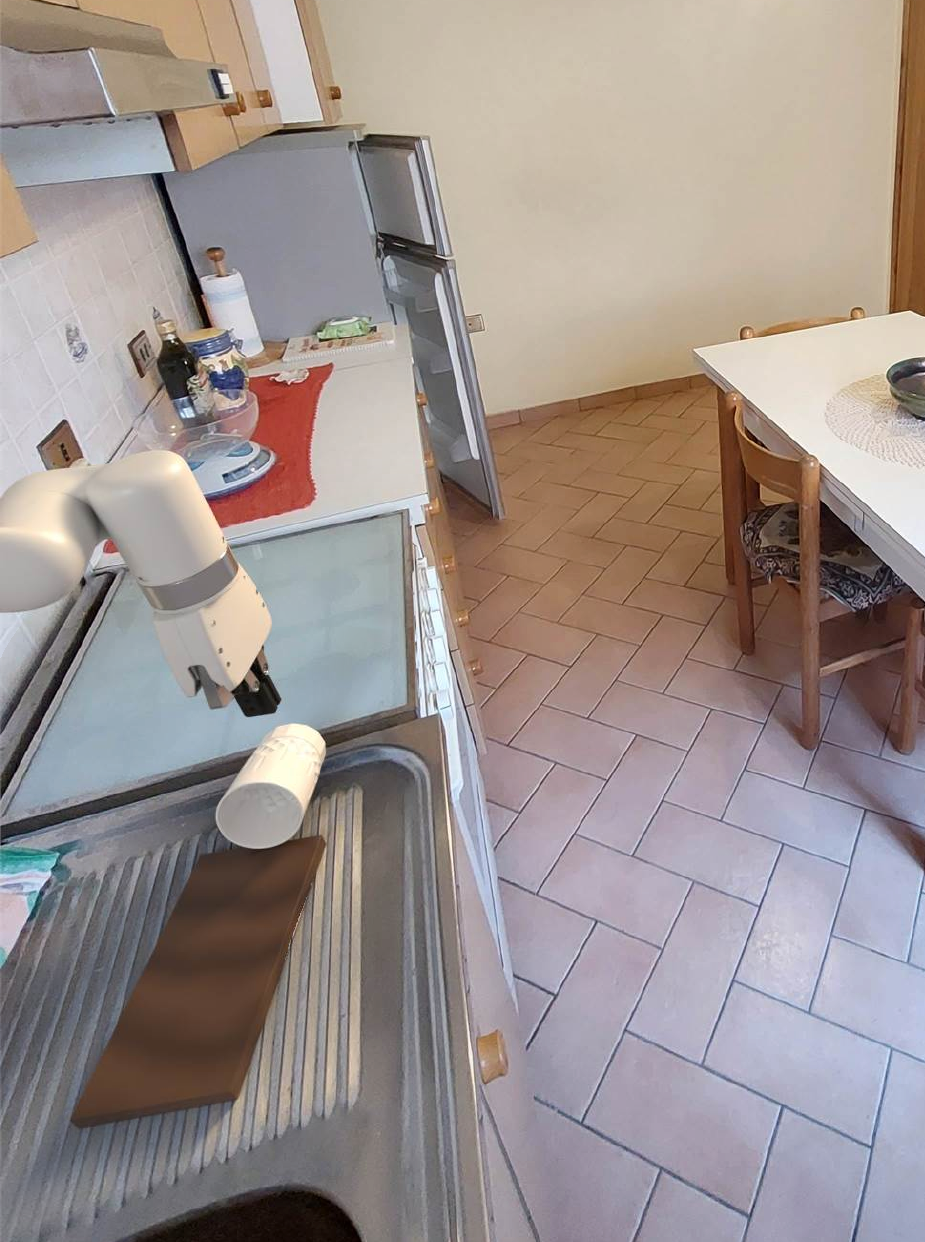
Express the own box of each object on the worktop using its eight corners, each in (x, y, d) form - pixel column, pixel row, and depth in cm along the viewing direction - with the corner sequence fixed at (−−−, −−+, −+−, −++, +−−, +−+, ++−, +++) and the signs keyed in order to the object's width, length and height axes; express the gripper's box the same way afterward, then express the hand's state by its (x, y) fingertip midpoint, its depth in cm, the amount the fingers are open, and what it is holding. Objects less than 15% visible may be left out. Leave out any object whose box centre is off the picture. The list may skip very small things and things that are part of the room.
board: (206, 863, 77) (200, 854, 76) (326, 843, 78) (321, 834, 77) (78, 1129, 59) (68, 1121, 58) (237, 1100, 59) (229, 1091, 59)
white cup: (248, 774, 84) (208, 844, 75) (262, 713, 83) (222, 777, 73) (324, 783, 86) (294, 853, 77) (338, 723, 85) (310, 787, 75)
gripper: (189, 533, 78) (257, 661, 87) (102, 638, 65) (193, 777, 74) (263, 523, 78) (324, 651, 87) (193, 625, 65) (272, 764, 74)
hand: (264, 709), depth 80 cm, fingers closed
